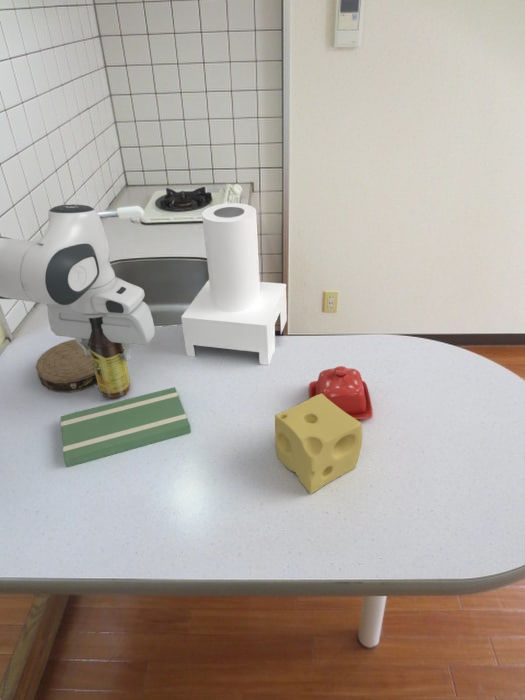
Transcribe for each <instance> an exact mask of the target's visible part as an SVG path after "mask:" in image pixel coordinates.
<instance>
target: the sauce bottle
mask: <svg viewBox="0 0 525 700" xmlns="http://www.w3.org/2000/svg"><path fill="white" fill-rule="evenodd" d="M102 318H103V317H98V318H89V321H90V324H91V329H92V331H91V335H90V338H89V342H88V347H89V351H90V355H91V359H92V363H93V367H94V371H95V374H96V378H97V382H98V384H97V387H98V389H99V391H100V393H101V394H102V395H103V396H104V397H105V398H108V399H116V398H120V397H123V396H125V395H126V394H129V391H130V388H131V378H130V373H129V369H128V364H127V361H126V360H121V359H120V358H121V357H120V355H119V353H120V352H121V351H122V349H123V348H124V347H123V346H122V343H116V342H111V341H109V340H108V339H107V337H106V336H105V335H104V333H103V329H102V327H101V324H103V320H102Z"/></svg>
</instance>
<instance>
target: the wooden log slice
mask: <svg viewBox="0 0 525 700" xmlns="http://www.w3.org/2000/svg"><path fill="white" fill-rule="evenodd" d="M88 341H89V339H88ZM35 370H36V373H37V375H38V379H39V381H40V384H41V385H42V387H44V388H45V389H47V390H48V391H52V392H55V393H75V392H83V391H84V390H87V389H90V388H93V387H96V386H98V382H97V378H96V374H95V371H94V367H93V363H92V359H91V356H86V355H85V352H84V349H83V348H82V347H81V346H80V345H79V344H78V343H77V342H76V340H75V339H70V340H67V341H64V342H60V343H58V344H56V345H54V346H52V347H49V348H48V349H47V350H46V351H45V352H43V353H42V354H41V355H40V356H39V358H38V359H37V360H36V364H35Z"/></svg>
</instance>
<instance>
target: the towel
mask: <svg viewBox="0 0 525 700" xmlns="http://www.w3.org/2000/svg"><path fill="white" fill-rule="evenodd" d="M183 406H184V405H183V404H182V402H181V399H180V397H179V393H178V391H177V388H176V387H175V386H174V387H170V388H166V389H162V390H158V391H154V392H149V393H147V394H142V395H138V396H134V397H131V398H125V399H123V400H119V401H114V402H111V403H107V404H103V405H99V406H94V407H92V408H88V409H84V410H80V411H75V412H73V413H68V414H64V415H60V427H61V429H60V430H61V439H62V441H61V442H62V452H63V460H64V464H65V465H66V468H70V467H73V466H76V465H80V464H84V463H87V462H91V461H95V460H98V459H102V458H105V457H109V456H112V455H116V454H119V453H123V452H126V451H130V450H134V449H137V448H142V447H146V446H148V445H151V444H152V445H153V444H155V443H159V442H162V441H165V440H170V439H173V438H176V437H177V438H178V437H180V436H183V435H184V436H185V435H188V434H191V432H192V431H191V424H190V422H189V419H188V416H187V414H186V412H185V409H184V407H183Z"/></svg>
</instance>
